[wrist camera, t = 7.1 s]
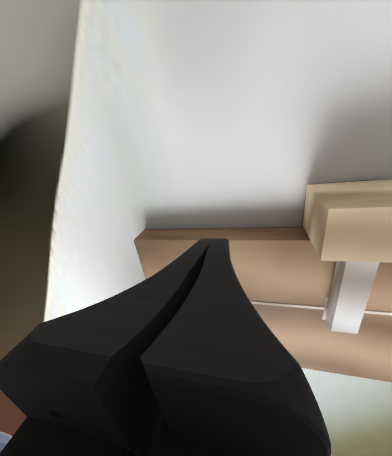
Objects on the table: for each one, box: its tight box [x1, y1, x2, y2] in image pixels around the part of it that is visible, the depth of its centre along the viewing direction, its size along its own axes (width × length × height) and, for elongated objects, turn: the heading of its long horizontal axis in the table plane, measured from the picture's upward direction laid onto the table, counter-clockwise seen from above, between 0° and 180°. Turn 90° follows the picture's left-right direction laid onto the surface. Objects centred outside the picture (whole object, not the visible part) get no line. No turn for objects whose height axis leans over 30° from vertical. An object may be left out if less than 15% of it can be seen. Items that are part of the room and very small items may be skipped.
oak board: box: [134, 227, 392, 382], centre depth 18 cm, size 14×22×2 cm, turn 98°
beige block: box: [303, 179, 392, 334], centre depth 13 cm, size 10×5×4 cm, turn 8°
